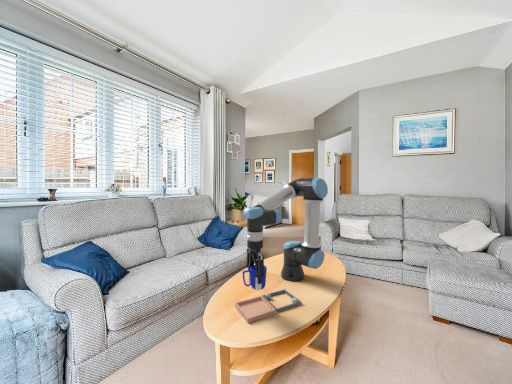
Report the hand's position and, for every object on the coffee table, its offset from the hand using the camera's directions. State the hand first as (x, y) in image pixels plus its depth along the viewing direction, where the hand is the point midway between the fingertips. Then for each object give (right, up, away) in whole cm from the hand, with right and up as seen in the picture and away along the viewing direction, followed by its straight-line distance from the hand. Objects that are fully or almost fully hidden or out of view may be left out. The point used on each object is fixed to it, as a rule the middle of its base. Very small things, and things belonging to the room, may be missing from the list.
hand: (254, 286), depth 112 cm
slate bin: (+14, -12, +9) cm, 20 cm away
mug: (0, -1, 0) cm, 1 cm away
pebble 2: (+20, -12, +7) cm, 25 cm away
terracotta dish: (0, -12, +1) cm, 12 cm away
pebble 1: (+7, -11, +12) cm, 18 cm away
